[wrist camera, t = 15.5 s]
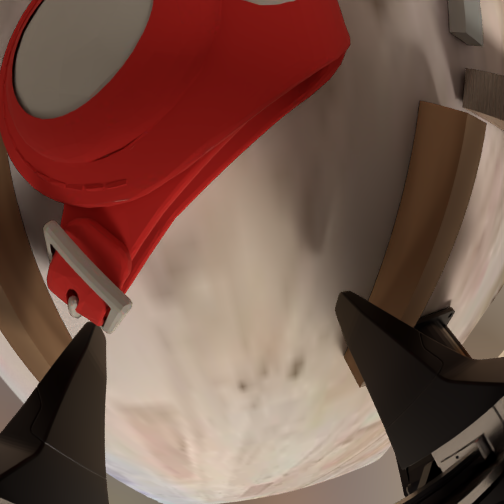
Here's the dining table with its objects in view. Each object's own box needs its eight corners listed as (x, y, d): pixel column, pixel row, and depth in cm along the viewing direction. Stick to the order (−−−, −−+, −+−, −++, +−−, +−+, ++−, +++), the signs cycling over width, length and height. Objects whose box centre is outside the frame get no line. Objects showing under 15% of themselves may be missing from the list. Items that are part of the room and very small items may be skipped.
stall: (441, 109, 8) (486, 123, 6) (362, 351, 16) (379, 380, 14) (-24, 118, 5) (-68, 135, 3) (80, 385, 13) (76, 420, 11)
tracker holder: (-25, 16, 2) (302, -130, 1) (50, 32, 6) (293, -54, 5) (51, 369, 6) (411, 352, 5) (108, 299, 10) (361, 265, 9)
